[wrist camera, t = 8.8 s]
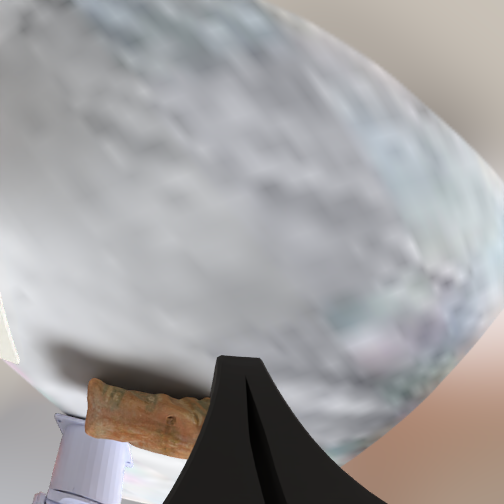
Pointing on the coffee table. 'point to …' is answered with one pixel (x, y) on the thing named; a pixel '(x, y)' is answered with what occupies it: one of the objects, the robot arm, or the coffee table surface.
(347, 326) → the coffee table surface
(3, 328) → the felt mat
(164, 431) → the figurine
